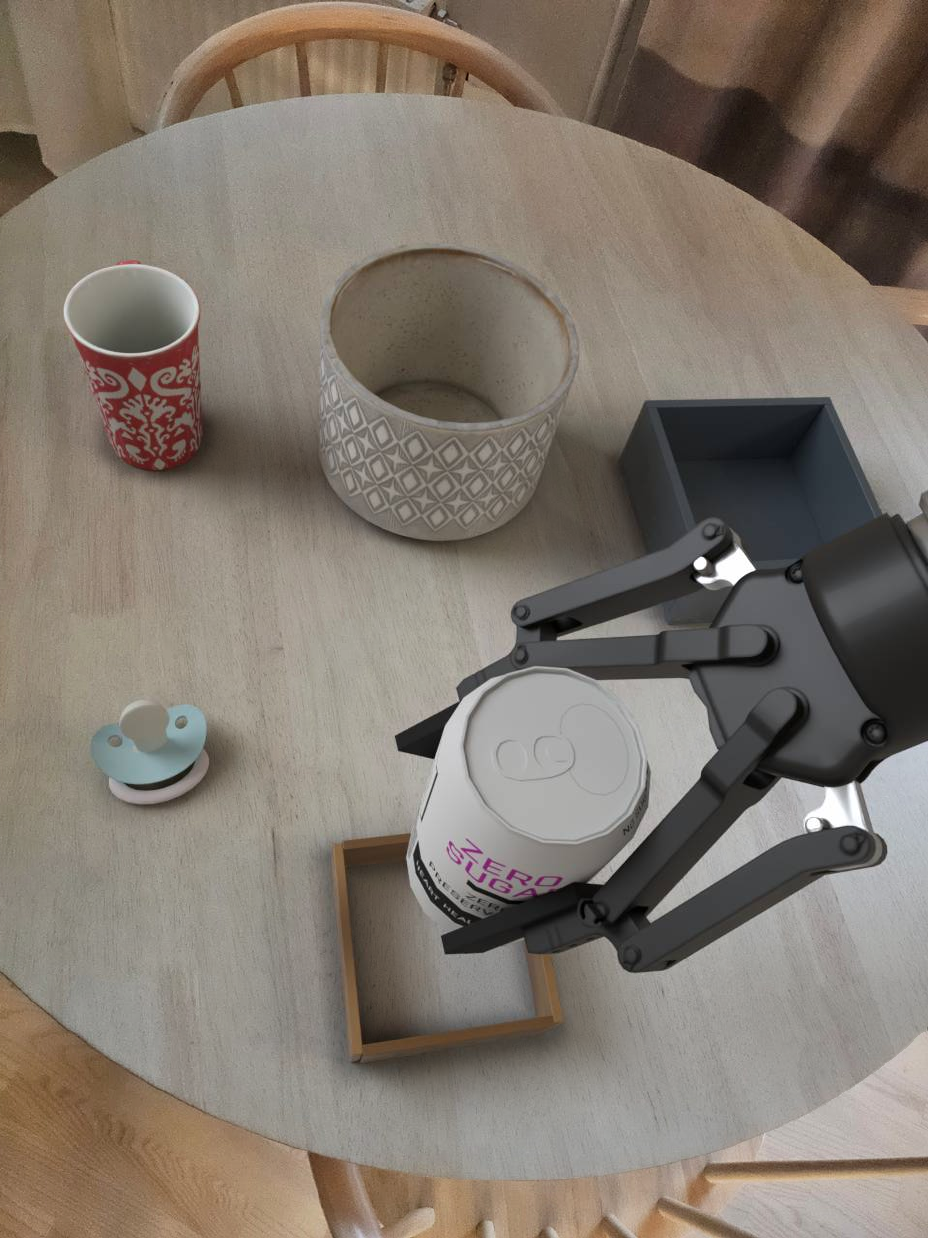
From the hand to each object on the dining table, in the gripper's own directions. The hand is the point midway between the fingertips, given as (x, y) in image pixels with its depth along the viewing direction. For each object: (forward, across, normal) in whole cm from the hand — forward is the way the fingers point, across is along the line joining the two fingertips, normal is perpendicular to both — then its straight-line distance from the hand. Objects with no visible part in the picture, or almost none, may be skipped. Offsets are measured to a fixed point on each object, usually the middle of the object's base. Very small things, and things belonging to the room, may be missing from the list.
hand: (437, 841), depth 41 cm
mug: (+23, +45, -8) cm, 51 cm away
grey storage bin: (-10, +27, -40) cm, 49 cm away
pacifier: (+25, +15, -6) cm, 29 cm away
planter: (+8, +38, -23) cm, 45 cm away
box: (+13, -1, -17) cm, 22 cm away
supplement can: (+2, 0, -7) cm, 7 cm away
